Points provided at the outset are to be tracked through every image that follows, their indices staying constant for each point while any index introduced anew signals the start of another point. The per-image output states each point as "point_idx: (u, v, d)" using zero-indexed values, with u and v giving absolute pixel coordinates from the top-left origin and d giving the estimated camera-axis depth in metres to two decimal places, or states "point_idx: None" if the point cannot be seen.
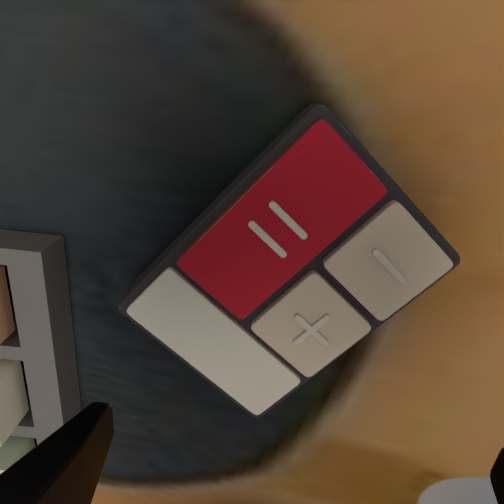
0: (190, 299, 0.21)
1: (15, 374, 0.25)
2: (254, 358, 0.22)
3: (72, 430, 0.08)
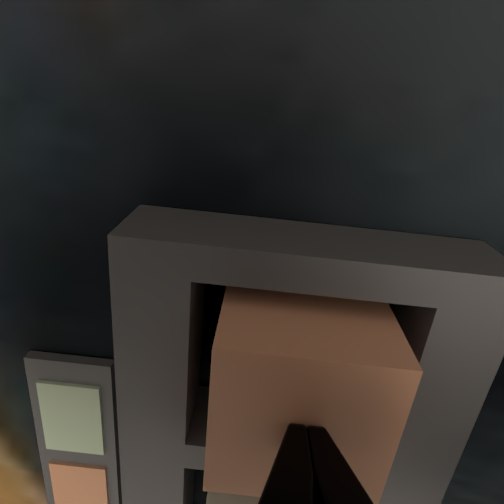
0: None
1: None
2: None
3: (293, 455, 0.08)
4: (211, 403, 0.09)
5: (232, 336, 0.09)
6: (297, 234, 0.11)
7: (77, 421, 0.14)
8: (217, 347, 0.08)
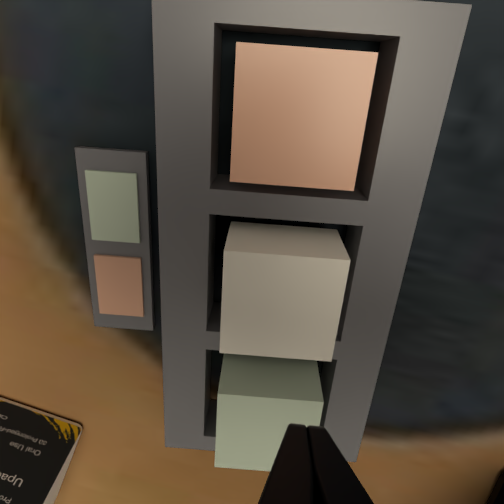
0: None
1: None
2: None
3: (293, 454, 0.08)
4: (235, 94, 0.13)
5: None
6: None
7: (118, 208, 0.18)
8: (239, 42, 0.12)
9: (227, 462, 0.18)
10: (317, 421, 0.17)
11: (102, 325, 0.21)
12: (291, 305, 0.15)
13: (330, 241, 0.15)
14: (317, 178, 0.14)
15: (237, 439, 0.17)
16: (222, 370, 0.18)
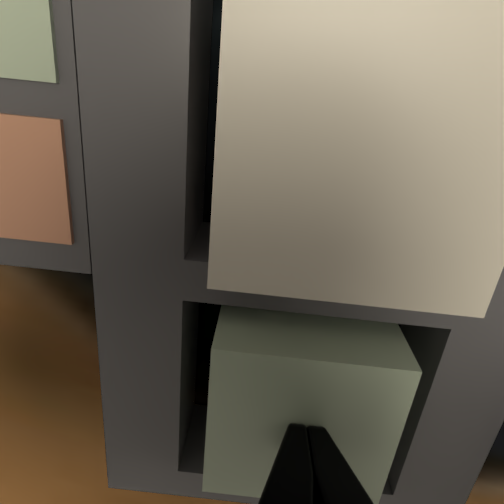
0: None
1: None
2: None
3: (293, 455, 0.08)
4: None
5: None
6: None
7: None
8: None
9: (225, 484, 0.10)
10: (403, 411, 0.09)
11: (0, 262, 0.11)
12: (406, 152, 0.05)
13: None
14: None
15: (246, 441, 0.09)
16: (221, 312, 0.10)
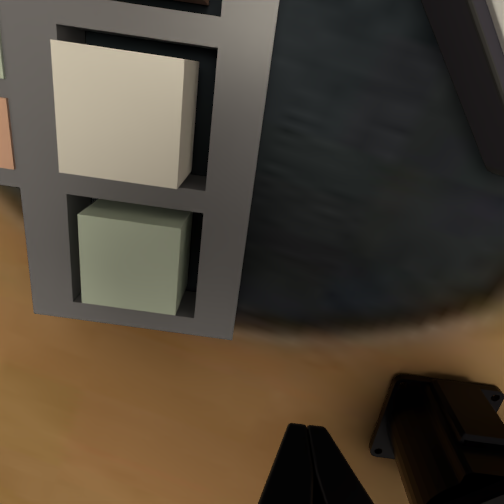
0: None
1: (194, 83, 0.15)
2: None
3: (293, 454, 0.08)
4: None
5: None
6: None
7: None
8: None
9: (93, 298, 0.18)
10: (176, 251, 0.17)
11: None
12: (128, 115, 0.14)
13: None
14: None
15: (101, 269, 0.18)
16: (92, 204, 0.18)
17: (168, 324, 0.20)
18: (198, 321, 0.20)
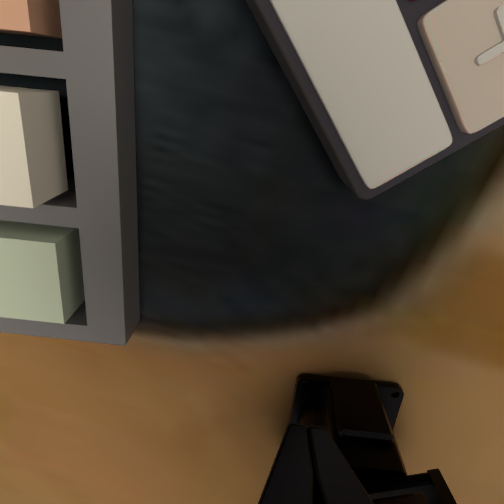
0: None
1: (52, 111, 0.17)
2: (404, 83, 0.15)
3: (293, 454, 0.08)
4: None
5: None
6: None
7: None
8: None
9: None
10: (55, 264, 0.19)
11: None
12: None
13: (30, 90, 0.16)
14: None
15: None
16: None
17: (64, 332, 0.21)
18: (91, 328, 0.21)
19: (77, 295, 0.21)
